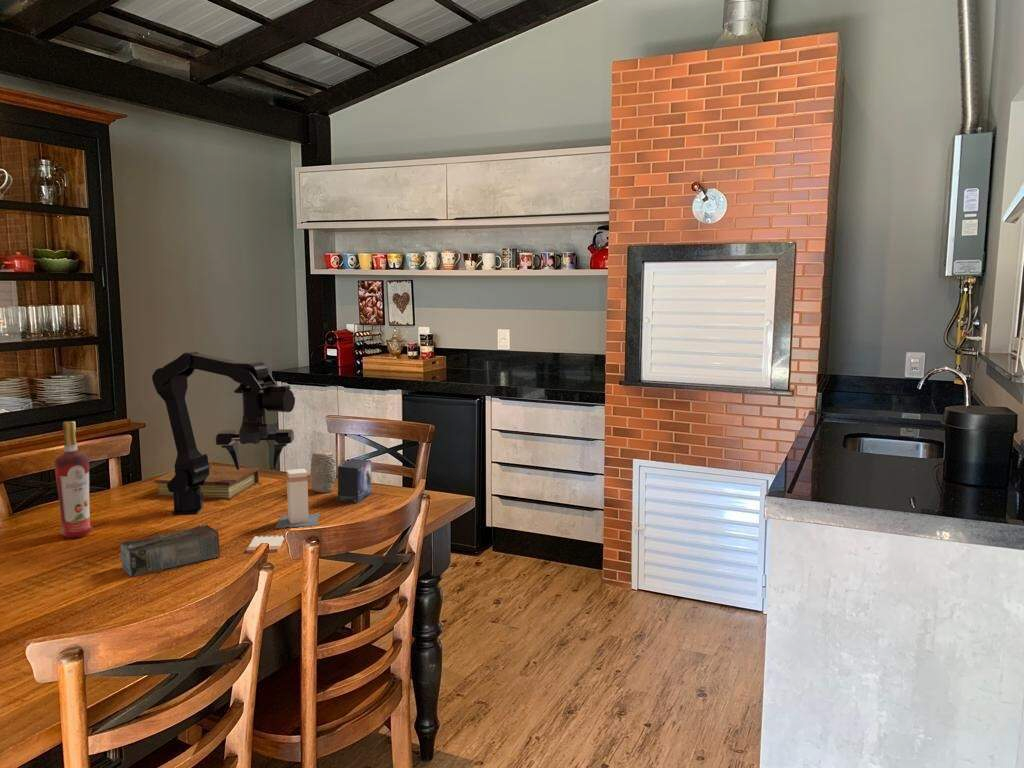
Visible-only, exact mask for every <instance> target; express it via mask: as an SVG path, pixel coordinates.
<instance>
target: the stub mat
mask: <svg viewBox="0 0 1024 768" xmlns="http://www.w3.org/2000/svg"><path fill="white" fill-rule="evenodd" d="M308 516H309V522H301V523H292V524H291V523H290V521H289V519H288V514H281V516H280V518H279V520H278V522H276V525H275V526H274V529H287V528H286V527H289V528H288V529H294V528H293V527H302V528H305V527H304V526H316V525H318V522H319V520H320V518H321V513H308ZM319 517H320V518H319ZM318 519H319V520H318ZM293 525H295V526H293ZM316 527H317V526H316Z"/></svg>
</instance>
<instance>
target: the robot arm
mask: <svg viewBox="0 0 1024 768" xmlns="http://www.w3.org/2000/svg"><path fill="white" fill-rule="evenodd" d="M196 370H199V371H202V372H203V371H204V372H207V373H212V374H217V375H221V376H225V377H228V378H230V379H231V380H232V381H234V382H236V383H238V384H239V386H238V387H237V388H236V389H234V390H233V393H235V394H241V395H242V396H241V398H242V400H241V401H242V422H241V426H240V428H239V431H238V433H237V430H235V429H234V430H233V429H232V430H231V429H230V430H221V431H220V432H218V433H217V434H216V436H215V445H218V446H221V448H222V449H226V450H227V451H228V453H229V454H230V456H231V459H232V461H233V464H234V465H235V466H234V467H236V468H237V470H239V469H240V467H241V462H240V459H241V458H240V450H239V443H240V444H242V445H246V444H254V445H257V444H259V443H260V442H261V441H275V443H274V445H273V447H274V449H273V450H274V451H273V462H272V463H273V464H272V465H273V469H274V470H276V469H277V466H278V462H279V459H280V456H281V453H282V451H283V449H284V447H287V445H288V444H292V442H293V441H295V440H294V439H295V433H294V431H293V429H290V428H289V429H287V428H285V429H284V428H283V429H281V428H280V429H277V430H275V432H270V429H269V424H268V423H267V412H275V413H277V412H281V413H291V412H293V410H294V408H295V403H296V397H295V395H294V392H293V391H292V390H291V386H290V385H278V384H277V383H278V382H276V380H275V379H274V377H273V376H272V374H271V373H270V372H269V369H268V367H267V365H266V364H265V363H264V362H262V361H257V360H256V361H255V360H252V361H251V360H244V361H235V360H231V359H225V358H222V357H217V356H213V355H208V354H204V353H200V352H198V351H190V352H188V351H187V352H184V353H182V354H181V355H180V356H178V357H177V358H175V359H174V360H172V361H170V362H169V363H166V365H163V367H159V368H156V369H155V370H154V372H153V374H152V375H151V380H152V384H153V386H154V389H155V391H156V394H158V395H159V397H160V398H161V399H162V400H163V401H164V403H165V407H166V412H167V414H168V415H167V416H168V421H169V423H170V429H171V432H172V436H173V437H172V438H173V440H174V444H175V448H176V449H175V450H176V452H177V454H176V459H175V462H174V471H175V476H174V477H173V478H172V479H171V481H170V482H169V483H168V484H167V487H168V490H169V492H173V497H174V498H173V511H171V514H172V515H186V514H187V515H188V514H189V515H194V514H198V513H199V512H200V511H201V510H202V509H203V508H204V499H203V493H202V492H201V489H200V486H203V485H204V483H205V480H206V478H207V477H208V475H209V468H211V467H210V466H211V465H210V463H209V458H208V454H207V453H204V454H202V453H201V452H200V451H199V450H198V448H197V443H196V440H195V435H194V431H193V426H192V422H191V419H190V418H191V417H190V414H189V410H188V407H187V402H186V395H187V391H188V387H189V385H188V378H189V377H190V376H191V375H193V374H194V373H195V371H196Z"/></svg>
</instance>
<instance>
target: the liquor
mask: <svg viewBox="0 0 1024 768" xmlns="http://www.w3.org/2000/svg"><path fill="white" fill-rule="evenodd" d="M76 427H77V425H76V421H74V420H73V421H63V422H62V430H63V435H64V439H63V440H64V443H63V454H62V455H60V456H58V457H57V458H56V459H54V461H53V463H54V464H53V465H54V473H55V481H56V483H55V484H56V488H57V495H58V502H59V511H60V519H61V529H60V531H59V532H60V534H61V535H62V536H64V537H65V538H67V539H79V538H82V537H86V536H87V535H88V534H89V533H90V532H91V531H92V530H93V526H92V525H91V517H90V516H91V514H90V513H91V510H90V458H89V456H87V455H85V454H83V453H79V448H78V443H77V438H76V431H77V430H76V429H77V428H76Z"/></svg>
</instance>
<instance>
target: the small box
mask: <svg viewBox="0 0 1024 768" xmlns="http://www.w3.org/2000/svg"><path fill="white" fill-rule="evenodd" d="M370 495H372V459H371V460H370V459H360V458H350V459H349V460H347V461H345V462H344V463H341V464H340V465H338V466H337V502H338V501H339V503H348V502H355V503H354V504H358V503H360V502H362V501H363V500H365V499H366V498H368V497H369V496H370ZM359 501H360V502H359ZM357 502H358V503H357Z"/></svg>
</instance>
